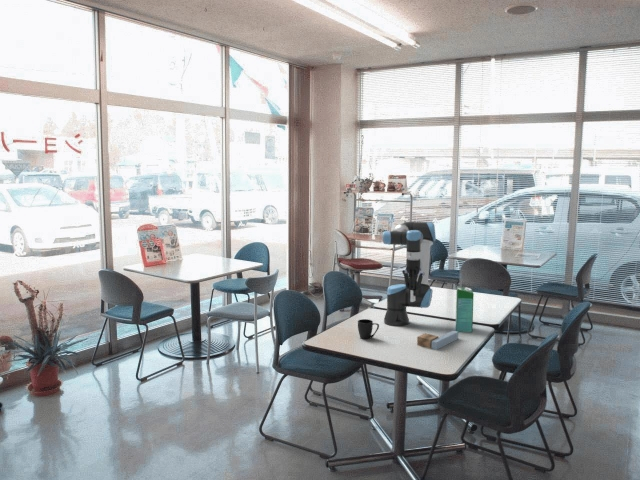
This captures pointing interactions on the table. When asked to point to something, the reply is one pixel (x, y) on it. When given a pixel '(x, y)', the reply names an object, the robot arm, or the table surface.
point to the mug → (366, 328)
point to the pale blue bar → (444, 340)
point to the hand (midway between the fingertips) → (412, 301)
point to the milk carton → (464, 309)
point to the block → (426, 340)
